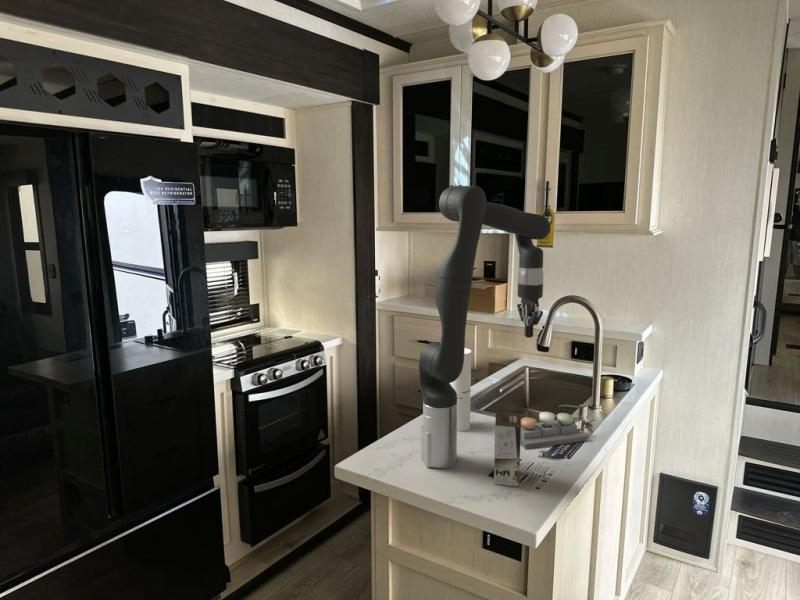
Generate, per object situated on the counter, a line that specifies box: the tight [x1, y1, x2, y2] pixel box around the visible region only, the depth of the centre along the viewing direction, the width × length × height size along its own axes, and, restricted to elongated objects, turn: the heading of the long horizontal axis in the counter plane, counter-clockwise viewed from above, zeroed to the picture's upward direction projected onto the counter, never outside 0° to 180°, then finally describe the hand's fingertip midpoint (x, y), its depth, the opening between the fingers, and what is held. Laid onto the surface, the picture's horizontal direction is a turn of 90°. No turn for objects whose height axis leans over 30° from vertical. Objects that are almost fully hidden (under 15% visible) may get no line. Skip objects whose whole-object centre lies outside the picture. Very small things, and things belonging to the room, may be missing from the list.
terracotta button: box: [520, 416, 537, 430], centre depth 164 cm, size 4×4×4 cm
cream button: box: [538, 411, 556, 427], centre depth 165 cm, size 4×4×4 cm
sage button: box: [556, 412, 573, 426], centre depth 167 cm, size 4×4×4 cm
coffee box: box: [493, 412, 521, 487], centre depth 142 cm, size 9×6×16 cm
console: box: [520, 419, 588, 450], centre depth 166 cm, size 20×12×3 cm, turn 104°
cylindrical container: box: [450, 347, 472, 432], centre depth 172 cm, size 7×7×25 cm
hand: (528, 336), depth 170 cm, fingers closed
